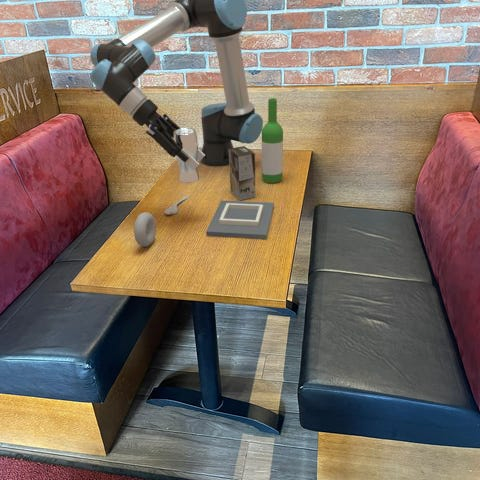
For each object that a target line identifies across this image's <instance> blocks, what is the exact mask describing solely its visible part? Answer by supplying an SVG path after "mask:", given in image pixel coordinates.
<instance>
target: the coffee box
mask: <svg viewBox="0 0 480 480" xmlns="http://www.w3.org/2000/svg"><path fill="white" fill-rule="evenodd" d="M255 155H256V154H255V152H253V151H252V150H250V148H248V147H246V146H245V145H243V146H237V147H234V148H231V149H229V164H228V166H229V185H230V192H231V193H232V195H234V196H235V197H236V198H237V199H238V201H245V200H248V199H255V198H256V158H255V157H256V156H255Z"/></svg>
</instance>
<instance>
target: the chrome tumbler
mask: <svg viewBox="0 0 480 480" xmlns="http://www.w3.org/2000/svg"><path fill="white" fill-rule="evenodd" d="M173 133H174V138H173V140H174V141H175V142H176V143H177V145H178V146H179V147H180V148H181V150H182V149H184V150H185V151H186V152H187V153H188V154H189V155H191V156H192V157H193V158H194V159H195V160H196V161H197V162H198V160H197V158H198V149H199V143H198V137H197V131H196V129H195V128H192V127H191V128H189V127H183V128H181V129H177V130H175V131H174V132H173ZM175 158H176V161H177V163H178V166H179V168H178V169H179V179H178V180H179V182H181V183H183V184H192V183H196V182H198V181H199V180H200V175H199V172H198V166H197V167H196V168H195V169H194V170H192V169H191V168H190V167H189V166H187V165H186V164H185V163H184V162H183V161H182V160H181V159H180V158H179V157H178V156H175Z"/></svg>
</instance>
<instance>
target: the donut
mask: <svg viewBox="0 0 480 480" xmlns="http://www.w3.org/2000/svg"><path fill="white" fill-rule="evenodd" d="M133 227H134V228H133V235H134V239H135V242H136V244H137V245H138V246H140V247H141V248H147V247H149V246H150V245H151V244H152V243H153V241H154V240H155V237H156V230H157V229H156V228H157V226H156V221H155V217H154V216H153V215H152V214H151V212H146V211H145V212H141V213H140V214H139V215H138V216H137V218H136V220H135V223H134V226H133Z"/></svg>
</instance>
